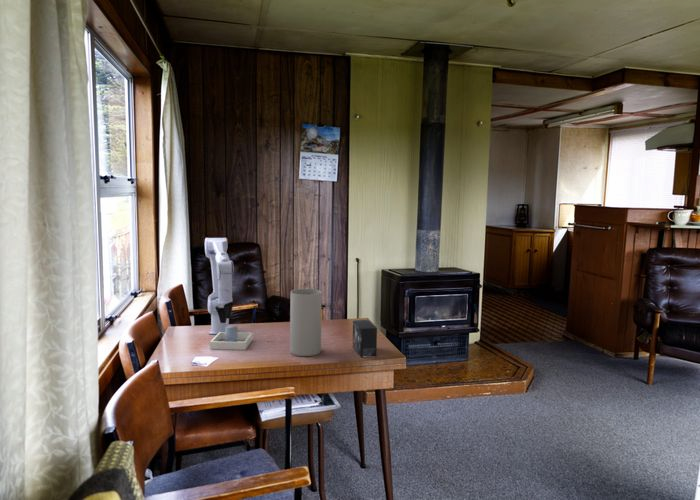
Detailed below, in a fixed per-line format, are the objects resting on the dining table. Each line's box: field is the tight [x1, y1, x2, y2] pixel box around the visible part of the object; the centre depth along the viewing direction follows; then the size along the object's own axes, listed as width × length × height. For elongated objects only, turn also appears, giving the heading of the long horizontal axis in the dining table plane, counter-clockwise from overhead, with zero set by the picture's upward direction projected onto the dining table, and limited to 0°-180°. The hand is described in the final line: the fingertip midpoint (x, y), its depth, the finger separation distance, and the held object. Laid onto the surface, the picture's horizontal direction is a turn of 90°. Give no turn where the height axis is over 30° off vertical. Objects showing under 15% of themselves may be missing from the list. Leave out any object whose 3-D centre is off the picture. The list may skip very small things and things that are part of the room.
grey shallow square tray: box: [209, 332, 254, 351], centre depth 210 cm, size 15×15×3 cm
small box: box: [352, 319, 378, 358], centre depth 203 cm, size 13×7×12 cm, turn 15°
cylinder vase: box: [289, 288, 323, 357], centre depth 201 cm, size 12×12×25 cm
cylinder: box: [225, 325, 239, 342], centre depth 210 cm, size 5×5×7 cm
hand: (225, 320), depth 213 cm, fingers open, 7 cm apart
